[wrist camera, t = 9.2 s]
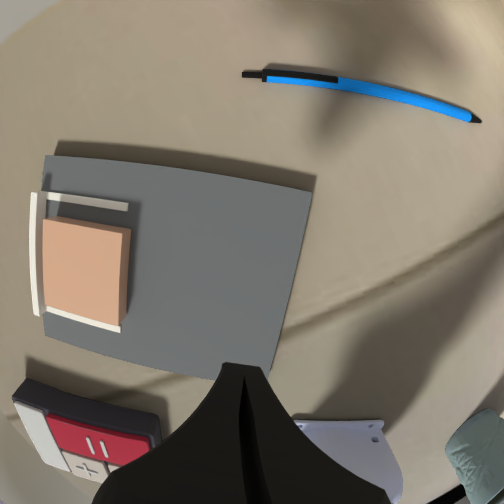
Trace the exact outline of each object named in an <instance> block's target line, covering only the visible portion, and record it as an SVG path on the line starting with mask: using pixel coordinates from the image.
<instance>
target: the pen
mask: <svg viewBox="0 0 504 504" xmlns="http://www.w3.org/2000/svg"><path fill="white" fill-rule="evenodd" d="M242 77H244V78H262V82H273V83H286V84H297V85H307V86H315V87H323V88H331V89H337V90H344V91H350V92H356V93H361V94H366V95H371V96H376V97H381V98H386V99H390V100H394V101H399V102H403V103H407V104H411V105H414V106H418V107H422V108H425V109H429V110H432V111H436V112H439V113H442V114H445V115H448V116H451V117H455V118H457V119H460V120H463V121H466V122H473V123H483V122H482V121H481V120H480V119H479V118H477V117H476V116H474V115H473V114H472V113H470V112H468V111H466V110H463V109H460V108H458V107H455V106H452V105H449V104H446V103H443V102H440V101H437V100H434V99H431V98H427V97H424V96H421V95H417V94H414V93H410V92H406V91H403V90H399V89H395V88H391V87H386V86H382V85H378V84H373V83H368V82H363V81H358V80H353V79H347V78H341V77H335V76H329V75H321V74H314V73H305V72H296V71H285V70H272V69H263V70H262V73H261V72H242Z"/></svg>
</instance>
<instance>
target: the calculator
mask: <svg viewBox="0 0 504 504" xmlns="http://www.w3.org/2000/svg"><path fill="white" fill-rule="evenodd" d="M12 400H13V402H14V404H15V407H16V409H17V411H18V413H19V416H20V418H21V420H22V422H23V424H24V426H25V428H26V430H27V432H28V434H29V436H30V438H31V440H32V442H33V443H34V445H35V447H36V449H37V451H38V452H39V454H40V456H41V458H42V459H43V461H44V462H45V463H46V464H49V465H51V466H54V467H57V468H59V469H62V470H65V471H68V472H73V474H74V475H76V476H79V477H82V478H86V479H89V480H92V481H96V482H100V483H103V482H104V481H105V479H106V478H107V477H108V476H109V474H110V473H111V472H112V471H114V470H116V469H118V468H120V467H122V466H124V465H126V464H127V463H129V462H131V461H133V460H135V459H137V458H139V457H140V456H142V455H144V454H145V453H147V452H148V451H149V450H151V449H152V448H154V447H155V446H157V445H158V444H160V443H161V442H162V439H161V431H160V424H159V418H158V416H157V415H155V414H152V413H147V412H142V411H137V410H132V409H127V408H123V407H119V406H114V405H110V404H106V403H102V402H98V401H94V400H90V399H86V398H82V397H78V396H74V395H71V394H67V393H64V392H60V391H58V390H57V389H56V388H53V387H50V386H47V385H44V384H42V383H39V382H36V381H34V380H31V379H28V378H26V379H25V380H24V382H23V383H22V384H21V385H20V387H19V388H18V389H17V390H16V392H15V393H14V394H13V395H12Z"/></svg>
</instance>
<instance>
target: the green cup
mask: <svg viewBox="0 0 504 504" xmlns="http://www.w3.org/2000/svg"><path fill="white" fill-rule="evenodd" d="M445 453H446V455H447V457H448V459H449V461H450V462H451V464H452V466H453V468H455V470H456V474H457V476H458V478H459V480H460V482H461V484H462V485H464V487H465V490H466V494H467V496H468V498H469V500H470V503H471V504H500V503H502V502H503V501H504V419H503V418H501V417H499V415H498V414H497V413H496V412H495V411H494V410H492V409H485V410H483V411H480V412H479V413H477V414H475V415H474V416H472V417H471V418H470V419H468V420H467V421H466V422H465V423H464V424H463V425H462V426H460V428H459V429H457V430H456V432H455V433H454V434H453V435H452V437H451V438H450V440H449V441H448V443H447V445H446V448H445Z"/></svg>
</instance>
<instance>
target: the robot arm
mask: <svg viewBox="0 0 504 504" xmlns="http://www.w3.org/2000/svg"><path fill="white" fill-rule="evenodd" d="M298 425H299V426H298ZM383 426H384V421H383V420H365V421H308V420H292V418H291V417H290V416H289V414H288V413H287V412H286V410H285V409H284V407H283V406H282V404H281V403H280V401H279V400H278V398H277V396H276V395H275V393H274V392H273V390H272V388H271V386H270V384H269V383H268V381H267V379H266V377H265V375H264V373H263V371H262V369H261V368H260V367H259V366H251V365H244V364H237V363H231V362H224V363H223V364H222V367H221V370H220V373H219V375H218V377H217V379H216V381H215V383H214V385H213V386H212V388H211V389H210V391H209V393H208V394H207V396H206V397H205V398H204V400H203V401H202V402H201V403H200V405H199V406H198V407H197V409H196V410H195V411H194V412H193V413H192V414H191V416H190V417H189V418H188V419H187V420H186V421H185V422H184V423H183V424H182V425H181V426H180V427H179V428H178V429H177V430H175V431H174V432H173V433H172V434H171V435H170V436H169V437H167V438H166V439H165V440H164V441H162V442H161V443H160V444H158V445H157V446H155V447H154V448H152V449H151V450H149V451H148V452H147V453H145V454H144V455H142V456H140V457H139V458H137V459H135V460H133V461H131V462H129V463H127V464H126V465H124V466H122V467H120V468H118V469H116V470H114V471H112V472H111V473H110V474H109V476H108V477H107V478H106V479H105V481H104V482H103V483H102V485H101V486H100V488H99V490H98V491H97V493H96V495H95V497H94V499H93V502H92V504H397V503H398V502H399V500H400V498H401V495H402V491H403V478H402V473H401V470H400V467H399V465H398V463H397V461H396V459H395V457H394V455H393V453H392V450H391V448H390V446H389V444H388V442H387V440H386V438H385V436H384V434H383V432H382V430H381V429H382V427H383ZM0 504H6V503H4V502H3V501H1V500H0ZM502 504H504V503H502Z"/></svg>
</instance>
